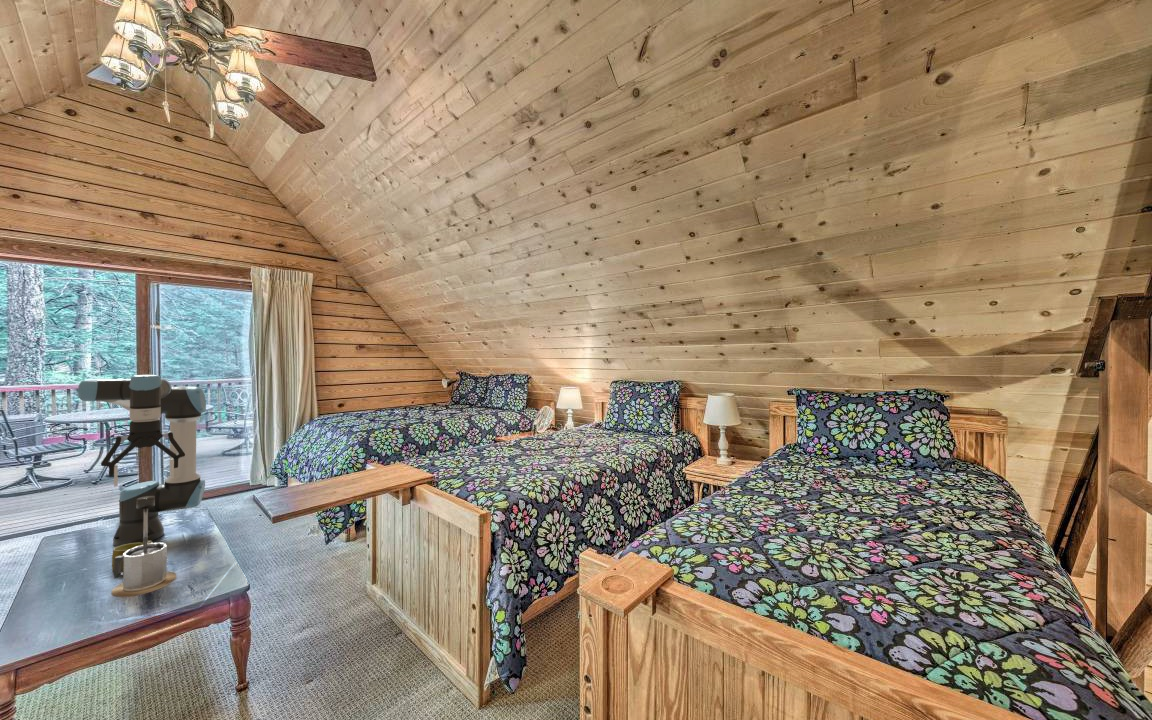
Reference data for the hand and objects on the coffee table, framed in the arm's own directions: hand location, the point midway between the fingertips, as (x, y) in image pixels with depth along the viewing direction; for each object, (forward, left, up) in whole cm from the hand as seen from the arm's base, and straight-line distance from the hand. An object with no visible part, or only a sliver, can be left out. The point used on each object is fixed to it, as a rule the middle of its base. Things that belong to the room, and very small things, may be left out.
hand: (144, 481), depth 146 cm
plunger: (0, 0, -26) cm, 26 cm away
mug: (-18, -11, -37) cm, 42 cm away
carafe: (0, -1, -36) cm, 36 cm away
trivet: (0, 0, -36) cm, 36 cm away
